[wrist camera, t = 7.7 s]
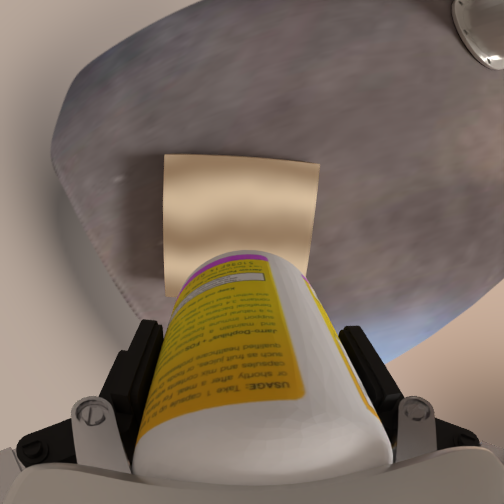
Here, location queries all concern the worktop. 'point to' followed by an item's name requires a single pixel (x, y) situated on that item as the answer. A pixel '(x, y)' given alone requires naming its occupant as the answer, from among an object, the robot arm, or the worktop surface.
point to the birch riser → (234, 210)
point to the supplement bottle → (255, 384)
